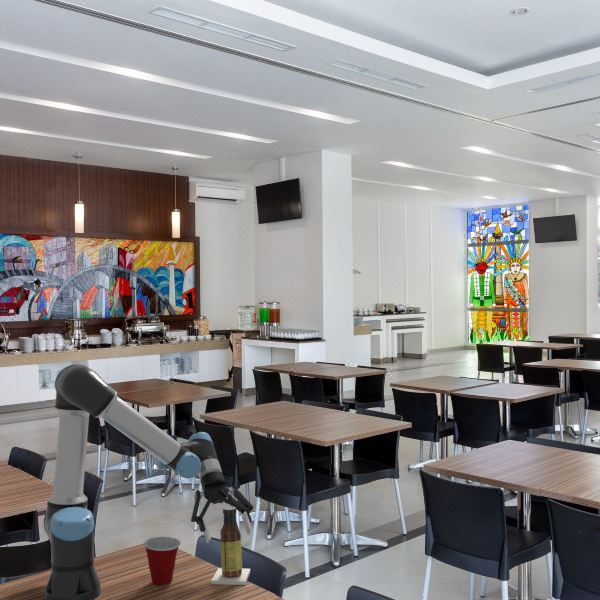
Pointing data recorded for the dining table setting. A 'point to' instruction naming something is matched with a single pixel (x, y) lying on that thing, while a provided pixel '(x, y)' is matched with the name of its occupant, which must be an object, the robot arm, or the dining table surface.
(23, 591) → the dining table surface
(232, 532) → the sauce bottle
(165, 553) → the plastic cup
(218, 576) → the cream pad
